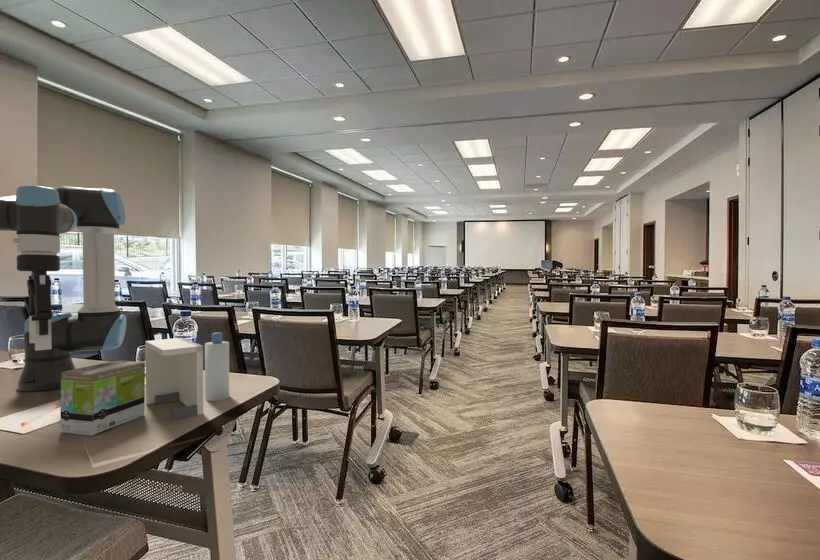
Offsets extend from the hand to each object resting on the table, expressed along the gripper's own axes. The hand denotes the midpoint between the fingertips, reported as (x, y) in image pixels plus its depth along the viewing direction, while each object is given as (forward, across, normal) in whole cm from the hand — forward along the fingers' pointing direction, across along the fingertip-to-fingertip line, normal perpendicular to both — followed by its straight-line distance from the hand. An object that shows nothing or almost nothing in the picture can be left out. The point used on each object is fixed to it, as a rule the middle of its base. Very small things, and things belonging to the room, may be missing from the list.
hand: (40, 346), depth 99 cm
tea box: (+21, 0, +12) cm, 25 cm away
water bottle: (+21, -1, +40) cm, 45 cm away
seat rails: (+21, +1, +27) cm, 35 cm away
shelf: (+21, +1, +27) cm, 35 cm away
